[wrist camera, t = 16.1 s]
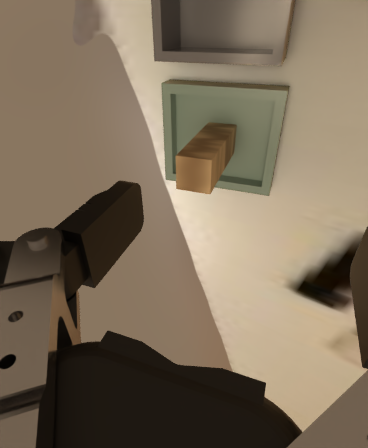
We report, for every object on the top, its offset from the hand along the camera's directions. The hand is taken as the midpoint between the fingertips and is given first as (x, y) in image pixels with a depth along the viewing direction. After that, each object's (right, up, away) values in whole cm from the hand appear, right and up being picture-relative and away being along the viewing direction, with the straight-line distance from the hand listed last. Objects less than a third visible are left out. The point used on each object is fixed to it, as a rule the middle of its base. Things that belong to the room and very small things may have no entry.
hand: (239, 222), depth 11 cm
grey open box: (+4, +24, +24) cm, 35 cm away
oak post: (+3, +12, +32) cm, 34 cm away
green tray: (+4, +13, +32) cm, 35 cm away
